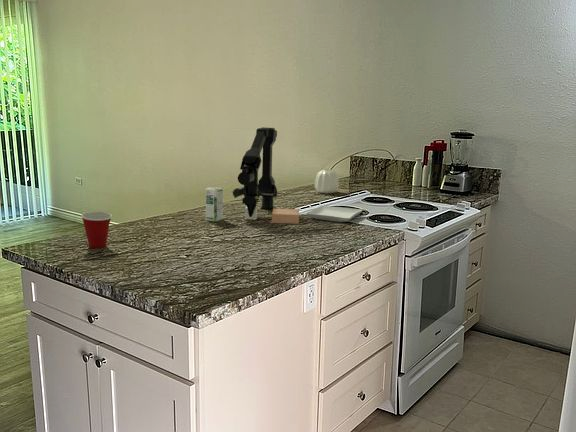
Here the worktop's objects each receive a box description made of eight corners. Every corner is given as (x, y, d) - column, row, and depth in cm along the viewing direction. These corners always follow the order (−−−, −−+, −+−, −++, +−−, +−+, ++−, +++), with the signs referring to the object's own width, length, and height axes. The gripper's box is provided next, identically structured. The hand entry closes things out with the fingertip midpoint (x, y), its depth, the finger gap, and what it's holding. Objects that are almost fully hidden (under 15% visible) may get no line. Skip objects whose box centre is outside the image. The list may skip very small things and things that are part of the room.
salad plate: (304, 219, 264) (305, 212, 263) (321, 211, 283) (321, 204, 282) (348, 225, 256) (349, 217, 255) (362, 216, 275) (363, 209, 274)
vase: (339, 195, 327) (340, 171, 324) (314, 194, 327) (315, 171, 324) (337, 190, 341) (338, 168, 338) (313, 190, 341) (314, 167, 338)
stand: (273, 216, 266) (273, 208, 265) (299, 217, 266) (299, 209, 265) (271, 222, 255) (272, 214, 254) (298, 223, 254) (299, 214, 253)
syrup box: (205, 220, 256) (204, 188, 253) (212, 217, 261) (212, 186, 258) (215, 222, 253) (215, 189, 250) (223, 219, 258) (223, 187, 255)
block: (246, 216, 265) (246, 206, 264) (256, 217, 265) (257, 206, 264) (245, 219, 260) (245, 208, 259) (255, 219, 260) (256, 208, 259)
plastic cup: (98, 252, 203) (97, 218, 200) (75, 247, 208) (74, 215, 205) (119, 245, 213) (118, 213, 210) (97, 241, 217) (96, 210, 215)
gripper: (236, 178, 268) (235, 210, 272) (231, 184, 250) (230, 219, 253) (259, 178, 268) (259, 211, 271) (256, 185, 250) (256, 220, 253)
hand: (251, 215), depth 262 cm, fingers closed on block, 5 cm apart
